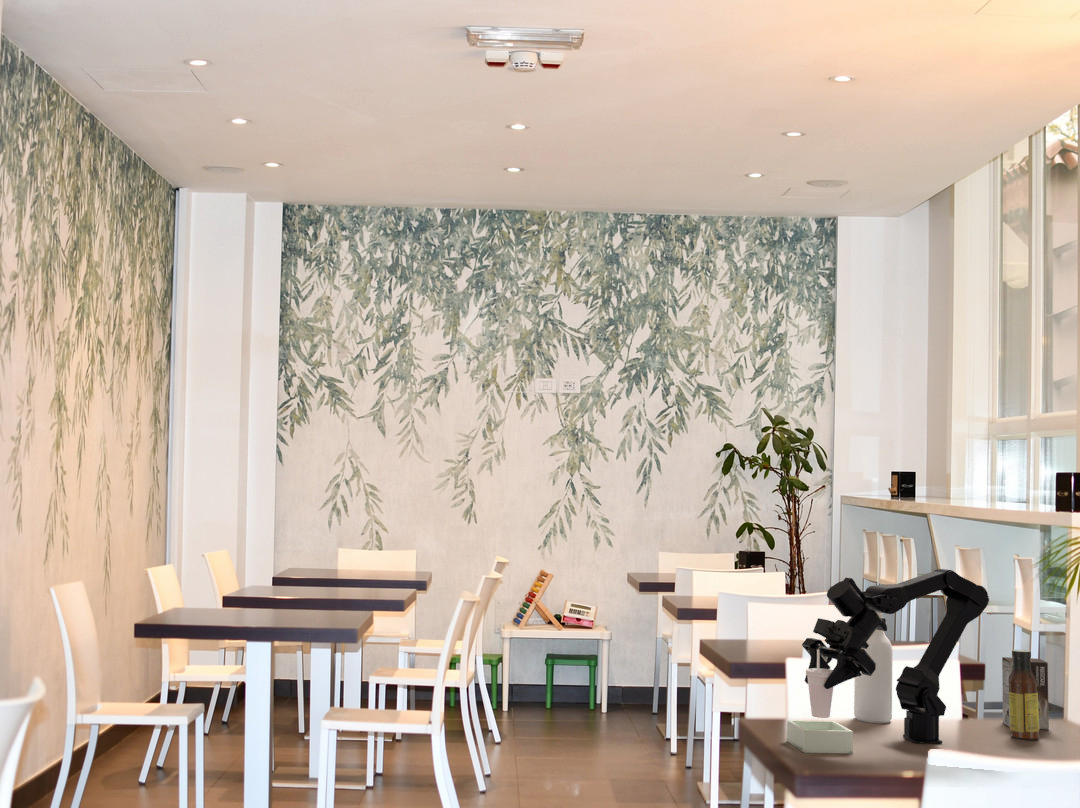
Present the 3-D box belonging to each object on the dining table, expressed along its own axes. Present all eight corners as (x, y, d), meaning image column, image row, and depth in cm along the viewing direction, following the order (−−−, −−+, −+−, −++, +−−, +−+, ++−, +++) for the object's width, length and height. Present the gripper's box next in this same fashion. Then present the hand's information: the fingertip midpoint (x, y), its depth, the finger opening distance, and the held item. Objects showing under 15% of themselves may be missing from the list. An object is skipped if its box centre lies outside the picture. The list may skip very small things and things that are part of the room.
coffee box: (1039, 724, 264) (1039, 658, 266) (1049, 730, 258) (1049, 662, 259) (1001, 722, 265) (1001, 656, 267) (1010, 727, 259) (1010, 659, 260)
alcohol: (897, 724, 258) (899, 598, 260) (862, 723, 257) (864, 597, 260) (882, 716, 266) (883, 594, 269) (848, 716, 266) (850, 593, 268)
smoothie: (806, 712, 234) (807, 647, 235) (837, 714, 232) (837, 649, 233) (804, 717, 228) (804, 650, 229) (835, 720, 226) (835, 652, 227)
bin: (833, 741, 235) (833, 721, 236) (852, 753, 225) (853, 731, 225) (786, 741, 234) (787, 720, 234) (804, 752, 224) (804, 730, 224)
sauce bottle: (1039, 736, 249) (1039, 650, 251) (1039, 742, 244) (1039, 653, 245) (1008, 733, 252) (1008, 647, 254) (1008, 738, 246) (1008, 650, 248)
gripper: (809, 601, 242) (768, 652, 237) (864, 610, 225) (821, 665, 220) (837, 635, 244) (797, 687, 239) (894, 647, 227) (852, 703, 222)
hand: (815, 685), depth 230 cm, fingers closed on smoothie, 6 cm apart
